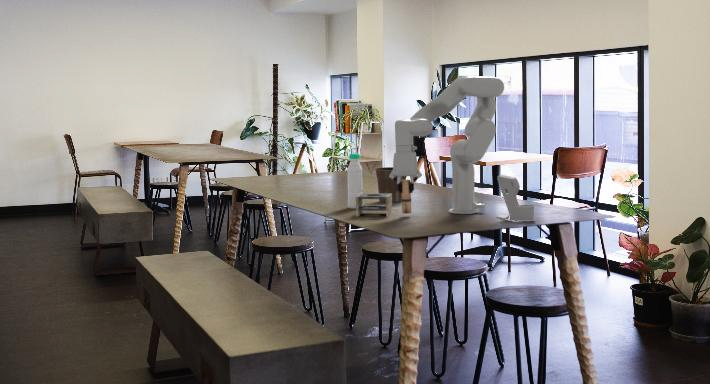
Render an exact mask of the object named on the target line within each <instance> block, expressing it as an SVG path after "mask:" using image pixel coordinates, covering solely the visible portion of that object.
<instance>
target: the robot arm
mask: <svg viewBox="0 0 710 384" xmlns="http://www.w3.org/2000/svg"><path fill="white" fill-rule="evenodd" d="M504 91H505V84H504V82H503V80H502V79H501V78H499V77H495V76H473V75H472V76H471V75H466V76H459V77H457V78H456V79H454V80H453V81H452V82H451V83H449V85H448V86H447V87H446V88H445V89H444V90H443V91H442V92H441V93H440V94H439V95H438V96H437V97H435V98H434V99H433V100H430V102H428V103H427V104H426V105H424V106H423V107H421V108H420V109H419V110H417V111H416V112H415V113H414V114H413V115H412V116H411V117H410V118H409V119H397V120H396V121H395V122H394V133H395V134H394V138H395V139H394V140H395V152H394V153H393V158H392V159H393V160H392V163H393V164H392V165H393V166H392V167H393V170H392V172H391V173H390V175H389V177H390V178H392V179H393V180H395V181H396V182H397V184H398V191H399V193H401V176H407V177H409V180H410V182H411V183H410V193H411V194H412V193H413V192H414V191H415V183H416V181H417V180H418V179H420V178H421V177H423V173H422V172H421V171H420V170H419V168H418V157H417V153H416V150H418V146H417V145H414V137H427V136H429V135H431V134H432V131H433V123H432V122H433V121H434V120H435V119H438V118H440V117H443V116H445V115H447V114H449V113H451V112H452V111H453V110H454V109H455V108H456V107H457V106H458V105H459V104H460V103H461V102H462V101H463V100H464V99H465V98H467V97H476V106H475V109H474V110H473V113H472V114H471V116H470V118H468V119H469V120H468V121H467V123H466V125H465V127H464V134H465V137H467V139H458V140H455V141H454V142H453V143H452V145H451V147H450V151H449V152H450V153H449V154H450V155H449V156H450V162H451V168H452V169H451V172H452V175H451V176H452V178H451V179H452V181H451V182H452V183H451V184H452V187H451V188H452V190H451V191H452V199H451V200H452V205H451V206H452V208H449V209H448V213H450V214H454V215H455V214H456V215H470V214H477V213H478V212H479V209H486V204H485V203H477V202H476V200H475V165H474V163H478V162H480V161H481V160H482V159H483V157H484V156H485V154H486V153H487V151H488V149H489V147H490V145H491V144H492V142H493V140H494V138H495V136H496V131H497V129H496V128H497V127H496V125H495V122H494V121H493V118H494V115H495V113H496V109H497V103H496V102H497V101H496V98H498V97H500V96H501V95H502V94H503V93H504ZM393 174H394V176H393ZM395 176H398V178H396V177H395ZM414 176H415V177H414Z"/></svg>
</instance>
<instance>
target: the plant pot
mask: <svg viewBox="0 0 710 384" xmlns="http://www.w3.org/2000/svg"><path fill="white" fill-rule="evenodd" d="M374 170H375V174H376V179H377V180H376V181H377V188H378V189H377V190H378V194H392V204H394V203H396V204H397V203H398V204H399V203H402V201H401V199H402V197H401V193H399V191H398V184H397V182H396V181H395V180H393V179H392V178H390V177H389V175H390V173H391V172H392V170H393V166H391V167H387V166H386V167H377V168H376V167H375V168H374ZM393 176H394V174H393ZM395 177H396V178H398V176H395ZM407 177H408V176H401V180H407ZM378 200H379V202H380V203H385V204H386V199H378Z"/></svg>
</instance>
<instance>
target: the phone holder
mask: <svg viewBox="0 0 710 384" xmlns="http://www.w3.org/2000/svg"><path fill="white" fill-rule="evenodd" d="M496 178H497V183H498V185H499V188H500V191H501V194H502V196H503V199H504V203H505V205H506V208H507V212H508V214H503V215H502V214H501V215H496V218H497V217H499V218H503V219H508V218H509V216H510V220H515V221H517V220H533V219H535V206H534V205H532V204H519V201H518V199H517V195H518V193H519V191H520V188H521V186H520V183H519V180H518V179H517V178H516V177H515V176H510V175H505V174H500V175H498V176H496ZM499 218H498V219H499ZM503 219H502V220H503Z"/></svg>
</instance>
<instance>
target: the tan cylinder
mask: <svg viewBox="0 0 710 384" xmlns="http://www.w3.org/2000/svg"><path fill="white" fill-rule="evenodd" d="M410 183H411V179H406V180H401V197H402V199H401V201H402V202H401V213H402V214H404V215H405V214H412V212H413V211H412V193H410Z"/></svg>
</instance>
